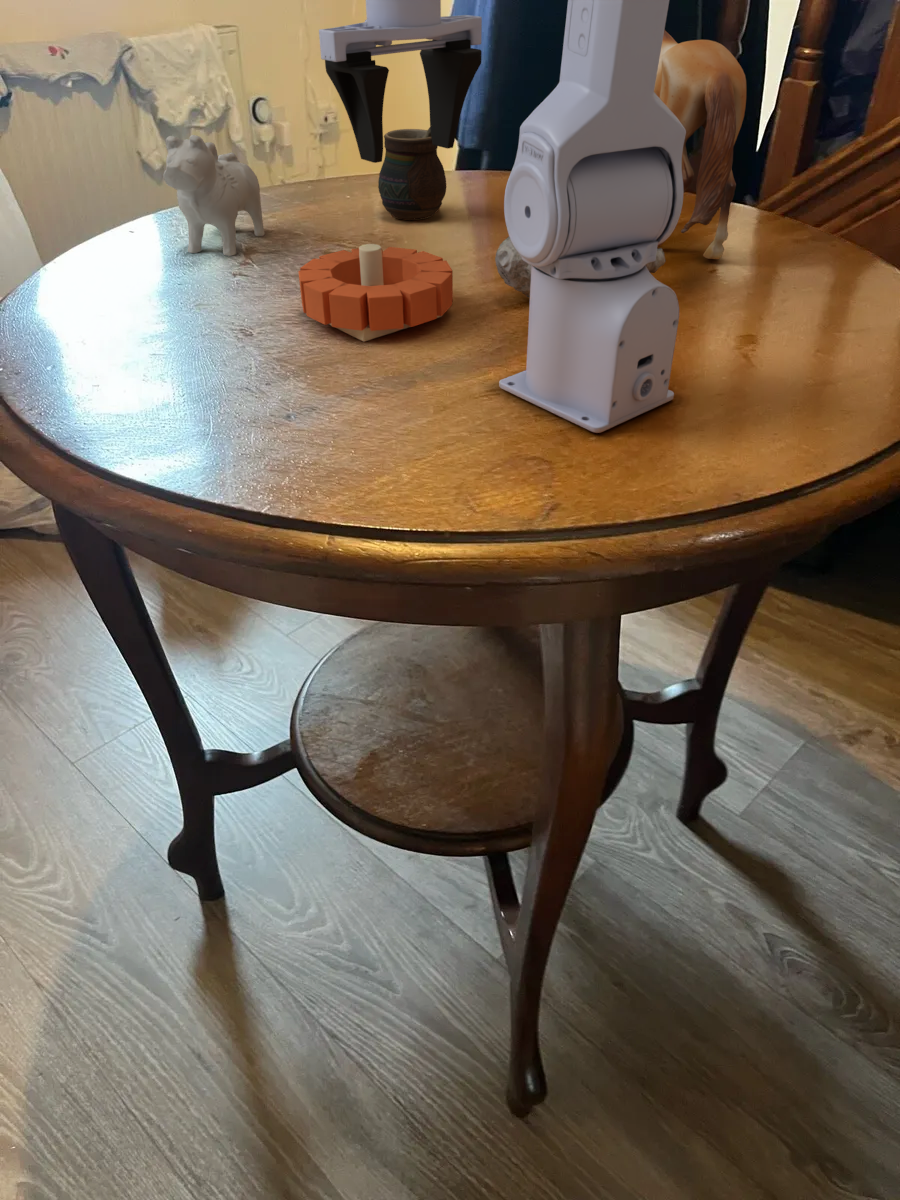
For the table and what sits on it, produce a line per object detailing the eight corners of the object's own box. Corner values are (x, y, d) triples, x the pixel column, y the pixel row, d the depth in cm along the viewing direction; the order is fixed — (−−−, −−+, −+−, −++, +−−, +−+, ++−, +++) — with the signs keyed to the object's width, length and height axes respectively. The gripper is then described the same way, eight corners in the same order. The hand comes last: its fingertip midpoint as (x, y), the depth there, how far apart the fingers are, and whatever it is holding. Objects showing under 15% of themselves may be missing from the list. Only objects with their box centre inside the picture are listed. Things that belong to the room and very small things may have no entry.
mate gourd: (366, 213, 98) (360, 110, 92) (422, 201, 102) (420, 102, 95) (403, 228, 93) (399, 121, 87) (461, 215, 97) (461, 112, 91)
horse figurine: (568, 198, 102) (583, -21, 90) (632, 194, 104) (656, -23, 91) (681, 290, 78) (723, 10, 66) (762, 283, 80) (819, 6, 67)
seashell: (679, 274, 73) (650, 174, 70) (525, 341, 76) (489, 248, 72) (662, 264, 79) (634, 172, 76) (519, 327, 81) (485, 240, 78)
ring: (481, 304, 73) (482, 272, 72) (361, 343, 67) (359, 309, 65) (389, 268, 81) (388, 238, 79) (273, 300, 74) (269, 268, 73)
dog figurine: (165, 265, 85) (140, 141, 78) (225, 226, 94) (207, 112, 88) (217, 269, 84) (195, 144, 77) (272, 229, 93) (257, 115, 87)
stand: (442, 316, 74) (441, 248, 70) (363, 342, 70) (358, 270, 66) (383, 291, 79) (380, 226, 75) (306, 313, 75) (299, 245, 71)
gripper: (441, -53, 73) (443, 133, 81) (289, -46, 65) (308, 158, 74) (501, -50, 68) (496, 146, 77) (345, -42, 61) (359, 173, 69)
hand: (408, 153), depth 75 cm, fingers open, 7 cm apart
